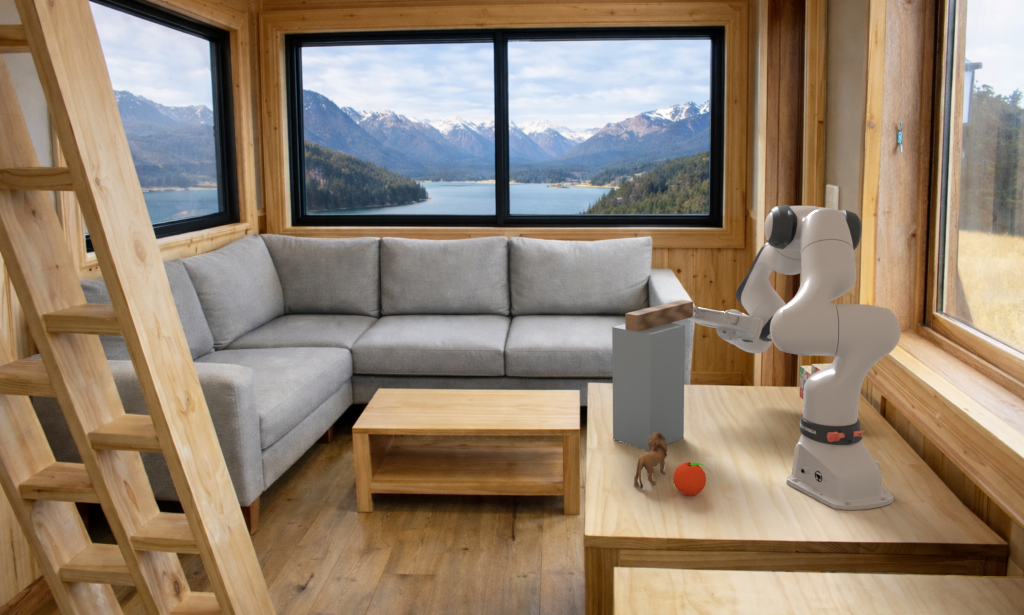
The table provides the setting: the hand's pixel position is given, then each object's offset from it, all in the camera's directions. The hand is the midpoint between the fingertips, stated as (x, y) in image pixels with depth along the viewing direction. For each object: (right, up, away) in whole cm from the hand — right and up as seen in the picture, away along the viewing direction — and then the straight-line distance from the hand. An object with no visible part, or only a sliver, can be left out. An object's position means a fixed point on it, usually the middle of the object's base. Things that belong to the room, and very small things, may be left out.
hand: (707, 311), depth 222 cm
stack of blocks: (+34, -27, +10) cm, 44 cm away
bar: (-15, -3, -13) cm, 20 cm away
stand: (-17, -32, -10) cm, 38 cm away
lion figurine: (-21, -37, -34) cm, 54 cm away
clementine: (-13, -39, -43) cm, 59 cm away
